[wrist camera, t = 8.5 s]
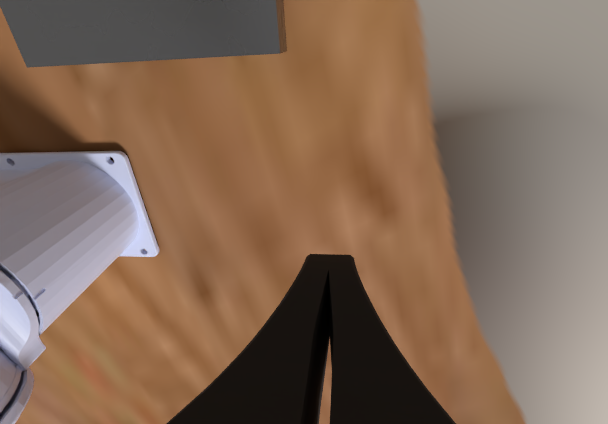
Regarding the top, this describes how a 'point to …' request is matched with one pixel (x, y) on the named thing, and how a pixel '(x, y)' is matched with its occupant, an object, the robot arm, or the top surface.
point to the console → (142, 29)
